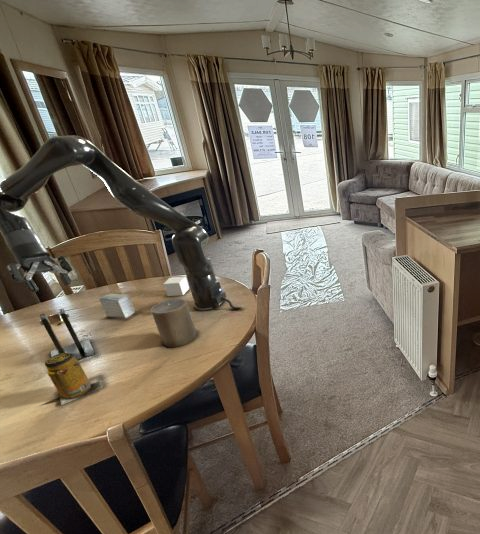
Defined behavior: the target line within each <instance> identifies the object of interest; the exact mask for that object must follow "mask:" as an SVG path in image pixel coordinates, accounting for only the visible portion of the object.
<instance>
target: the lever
mask: <svg viewBox="0 0 480 534" xmlns="http://www.w3.org/2000/svg"><path fill="white" fill-rule="evenodd" d="M47 319H48V321H49V323H50V325H51V327H57V328H58V327H62V326H64V325H65V323H64V321H63V319H62V317H61V315H60V313H55V314H52V315H48V316H47Z"/></svg>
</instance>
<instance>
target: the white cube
mask: <svg viewBox="0 0 480 534" xmlns="http://www.w3.org/2000/svg"><path fill="white" fill-rule="evenodd" d="M162 284H163V287H164V291H165V293H166V297H175V296H184V295H185V294H186V293H187V292H188V290H190V287H189V283H188V280H187V277H186V276H177V277H176V276H175V277H169V278H168V279H167V280H165V282H163V283H162Z"/></svg>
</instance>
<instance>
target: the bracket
mask: <svg viewBox="0 0 480 534" xmlns="http://www.w3.org/2000/svg"><path fill="white" fill-rule="evenodd" d="M58 312H59V316H61V317H62V319H63V321H64V323H65V324H64V325H65V327H66V329H67V330H68V333H69V334H70V336H71V338H72V341H73V342H74V343H71V344H69V345H65V346H62V344H61V341H60V340H59V338H58V336H57V334H56V333H55V331H54V329H53V326H52V325H51V324H50V321H49V319H48V317H47V315H46V313H41V314H39V318H40V320H39V323H40V325H41V326H44V329H45V330H46V332H47V334H48V335H49V338H50V339H51V341H52V344H53V345H54V347H55V348H56V349H53V350H50V357H52V356H55V355H57V354H61V353H72V354H73V357H75V360H78V361H80V360H83V359H87V358H89V357H93V356H95V355H96V353H95V351H94V347H93V346H92V344H91V341H90V340H89V338H86V339H84V340H80V339H79V337H78V335H77V332H76V331H75V329H74V327H73V325H72V323H71V321H70V319H69V318H70V315H69V313H66V311H65V309H64V308H60V309H58Z"/></svg>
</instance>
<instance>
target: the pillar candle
mask: <svg viewBox="0 0 480 534" xmlns="http://www.w3.org/2000/svg"><path fill="white" fill-rule="evenodd" d="M150 313H151V315H152V317H153V320H154V323H155V325H156V329H157V330H158V333H159V335H160V338H161V341H162V343H163V345H164V346H165V347H168V348H176V347H180V346H184V345H187V344H189V343H191V342H193V341H194V340H195V339H196V338H197V337H198V333H197V330H196V327H195V324H194V321H193V318H192V315H191V312H190V309H189V306H188V304H187V301H186V300H185V299H184V298H170V299H166V300H162V301H160V302H158V303H155V305H153V306H152V307H150Z"/></svg>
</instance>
